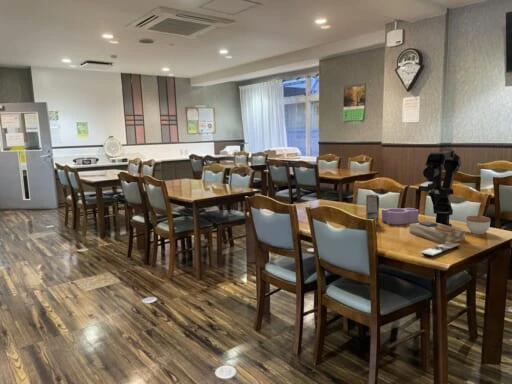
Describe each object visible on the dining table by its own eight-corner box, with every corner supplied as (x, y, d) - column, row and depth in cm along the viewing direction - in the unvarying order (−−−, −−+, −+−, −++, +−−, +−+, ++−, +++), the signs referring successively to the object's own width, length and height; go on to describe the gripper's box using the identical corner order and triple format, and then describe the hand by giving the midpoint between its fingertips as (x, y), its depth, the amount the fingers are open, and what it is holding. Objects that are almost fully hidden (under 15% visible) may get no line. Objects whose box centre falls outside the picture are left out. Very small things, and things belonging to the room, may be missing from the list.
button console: (430, 229, 207) (431, 221, 206) (464, 239, 186) (465, 230, 186) (409, 232, 202) (409, 224, 202) (442, 243, 182) (442, 234, 181)
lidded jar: (474, 228, 205) (475, 211, 203) (494, 233, 195) (495, 215, 194) (461, 231, 201) (461, 214, 199) (480, 236, 191) (481, 218, 189)
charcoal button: (428, 228, 203) (428, 221, 202) (437, 231, 197) (437, 223, 197) (419, 229, 201) (419, 222, 200) (427, 232, 195) (427, 224, 195)
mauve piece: (410, 218, 234) (411, 207, 232) (422, 223, 221) (422, 211, 220) (379, 220, 231) (379, 209, 230) (389, 225, 219) (389, 213, 218)
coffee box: (378, 225, 219) (379, 197, 216) (367, 224, 220) (367, 197, 218) (377, 221, 228) (377, 194, 225) (365, 221, 229) (366, 194, 226)
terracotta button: (444, 233, 193) (445, 225, 192) (454, 236, 187) (454, 228, 186) (435, 234, 191) (435, 227, 190) (444, 238, 185) (445, 229, 184)
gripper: (410, 175, 208) (409, 204, 210) (437, 179, 190) (436, 210, 193) (427, 174, 211) (426, 202, 214) (455, 177, 194) (453, 208, 196)
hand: (434, 205), depth 204 cm, fingers closed
